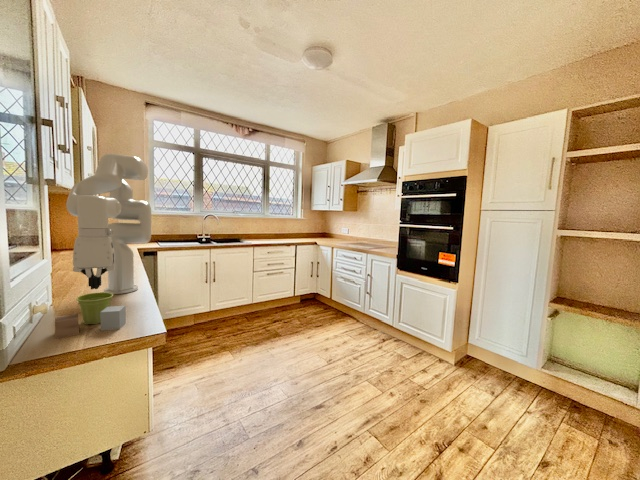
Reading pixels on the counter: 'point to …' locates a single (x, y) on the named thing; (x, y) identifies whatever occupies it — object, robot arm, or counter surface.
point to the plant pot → (93, 306)
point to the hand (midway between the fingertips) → (95, 288)
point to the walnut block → (66, 326)
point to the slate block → (113, 317)
